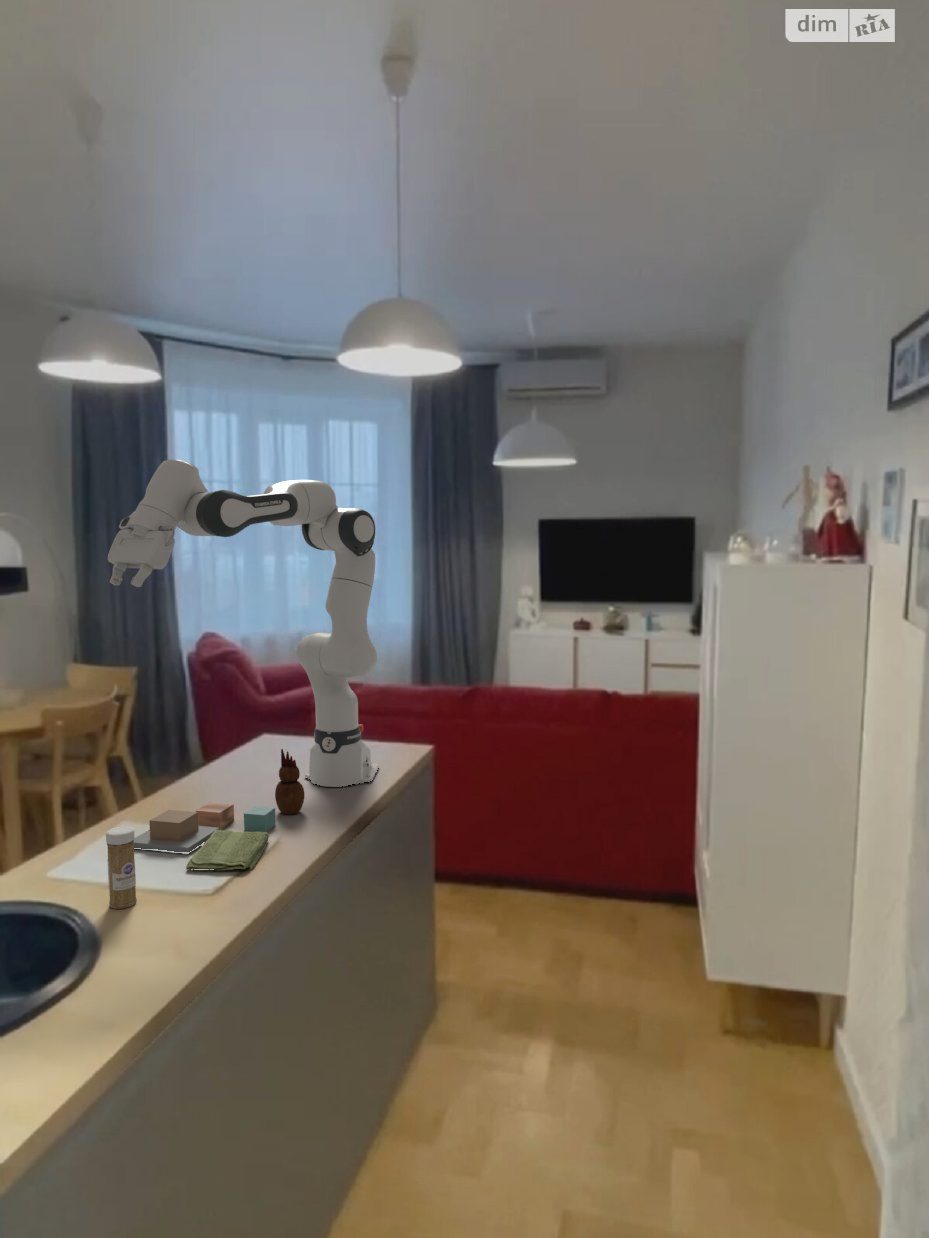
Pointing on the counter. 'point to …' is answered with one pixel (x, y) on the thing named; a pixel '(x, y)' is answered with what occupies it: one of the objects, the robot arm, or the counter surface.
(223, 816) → the brick
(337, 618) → the robot arm
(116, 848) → the sprinkles bottle
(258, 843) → the washcloth
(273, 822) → the brick
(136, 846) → the baseplate
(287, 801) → the wooden figurine
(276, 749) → the counter surface
